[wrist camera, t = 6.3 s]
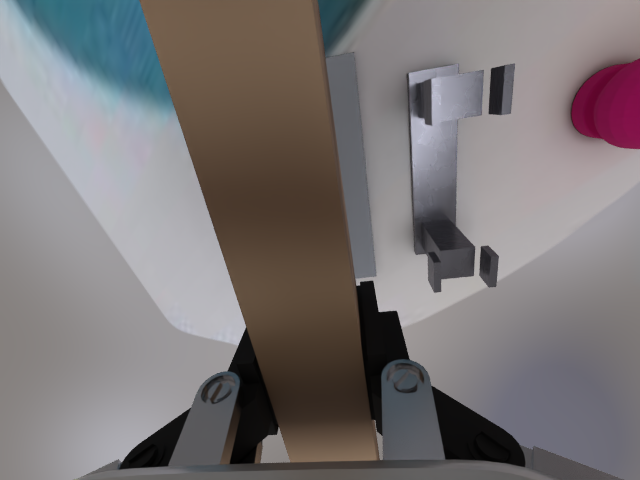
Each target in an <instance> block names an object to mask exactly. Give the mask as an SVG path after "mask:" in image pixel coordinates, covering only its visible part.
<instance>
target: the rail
mask: <svg viewBox="0 0 640 480" xmlns="http://www.w3.org/2000/svg"><path fill="white" fill-rule="evenodd" d="M140 3H141V6H142V10H143V13H144V16H145V19H146V22H147V25H148V28H149V31H150V34H151V37H152V40H153V43H154V46H155V49H156V52H157V55H158V58H159V61H160V65H161V68H162V71H163V74H164V77H165V80H166V83H167V86H168V89H169V92H170V95H171V98H172V101H173V104H174V107H175V110H176V113H177V116H178V120H179V123H180V126H181V129H182V132H183V135H184V138H185V141H186V144H187V147H188V150H189V153H190V156H191V159H192V162H193V165H194V168H195V171H196V175H197V178H198V181H199V184H200V187H201V190H202V193H203V196H204V199H205V202H206V205H207V208H208V211H209V214H210V217H211V220H212V223H213V226H214V230H215V233H216V236H217V239H218V242H219V245H220V248H221V251H222V254H223V257H224V260H225V263H226V266H227V269H228V272H229V275H230V278H231V281H232V285H233V288H234V291H235V294H236V297H237V300H238V303H239V306H240V309H241V312H242V315H243V318H244V321H245V324H246V327H247V330H248V333H249V336H250V340H251V343H252V346H253V349H254V352H255V355H256V358H257V361H258V364H259V367H260V370H261V373H262V376H263V379H264V382H265V385H266V388H267V391H268V395H269V398H270V401H271V404H272V407H273V410H274V413H275V416H276V419H277V422H278V425H279V428H280V431H281V434H282V437H283V440H284V443H285V446H286V450H287V453H288V456H289V459H290V461H291V462H327V461H372V460H380V459H379V451H378V444H377V437H376V429H375V421H374V420H371V414H370V407H369V399H368V392H367V385H366V378H365V371H364V364H363V356H362V346H361V333H360V320H359V308H358V295H357V288H356V280H355V273H354V266H353V258H352V251H351V243H350V236H349V229H348V221H347V214H346V206H345V199H344V192H343V184H342V177H341V169H340V162H339V154H338V147H337V140H336V132H335V125H334V117H333V110H332V103H331V95H330V88H329V80H328V73H327V66H326V58H325V51H324V43H323V36H322V29H321V21H320V14H319V6H318V0H140Z"/></svg>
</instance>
